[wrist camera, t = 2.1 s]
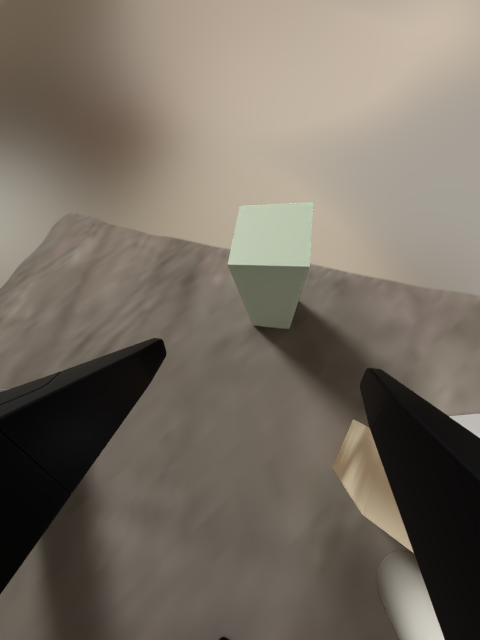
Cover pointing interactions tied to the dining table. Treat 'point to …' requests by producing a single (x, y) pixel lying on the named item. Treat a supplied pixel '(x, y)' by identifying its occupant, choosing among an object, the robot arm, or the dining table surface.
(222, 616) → the dining table surface
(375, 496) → the birch block
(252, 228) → the sage block
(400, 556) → the plastic canister
